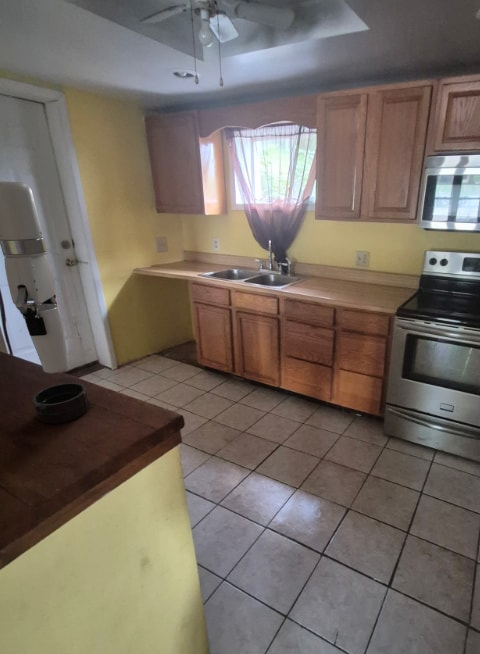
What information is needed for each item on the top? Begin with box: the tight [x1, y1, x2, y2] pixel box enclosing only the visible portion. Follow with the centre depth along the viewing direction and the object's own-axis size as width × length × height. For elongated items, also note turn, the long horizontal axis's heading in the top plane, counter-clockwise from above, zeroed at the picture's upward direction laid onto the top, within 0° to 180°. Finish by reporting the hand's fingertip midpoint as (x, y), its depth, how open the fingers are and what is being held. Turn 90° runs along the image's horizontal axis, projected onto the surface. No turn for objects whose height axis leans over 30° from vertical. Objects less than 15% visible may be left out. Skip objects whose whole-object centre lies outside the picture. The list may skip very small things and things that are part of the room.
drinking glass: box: [24, 304, 71, 374], centre depth 84 cm, size 7×7×15 cm
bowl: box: [31, 382, 90, 425], centre depth 93 cm, size 11×11×6 cm
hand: (46, 328), depth 83 cm, fingers closed on drinking glass, 6 cm apart
